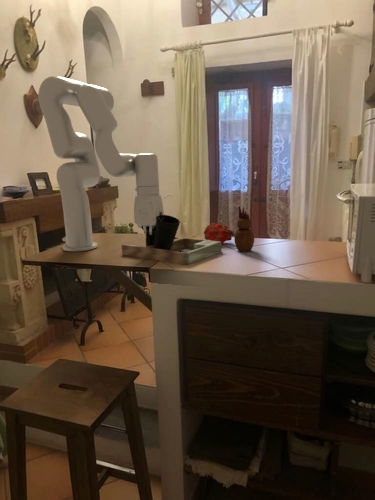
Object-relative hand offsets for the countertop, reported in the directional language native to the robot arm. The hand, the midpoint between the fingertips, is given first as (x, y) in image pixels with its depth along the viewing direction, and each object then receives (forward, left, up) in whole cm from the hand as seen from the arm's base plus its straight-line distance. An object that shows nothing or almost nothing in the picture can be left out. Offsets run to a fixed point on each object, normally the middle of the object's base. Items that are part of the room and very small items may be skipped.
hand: (151, 244), depth 135 cm
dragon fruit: (+12, +24, -3) cm, 27 cm away
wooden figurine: (+26, +18, -3) cm, 32 cm away
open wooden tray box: (+6, +3, -3) cm, 8 cm away
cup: (+4, 0, -2) cm, 5 cm away
